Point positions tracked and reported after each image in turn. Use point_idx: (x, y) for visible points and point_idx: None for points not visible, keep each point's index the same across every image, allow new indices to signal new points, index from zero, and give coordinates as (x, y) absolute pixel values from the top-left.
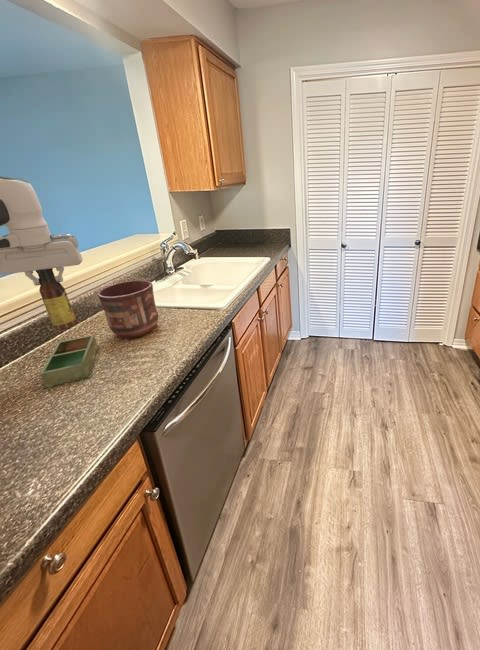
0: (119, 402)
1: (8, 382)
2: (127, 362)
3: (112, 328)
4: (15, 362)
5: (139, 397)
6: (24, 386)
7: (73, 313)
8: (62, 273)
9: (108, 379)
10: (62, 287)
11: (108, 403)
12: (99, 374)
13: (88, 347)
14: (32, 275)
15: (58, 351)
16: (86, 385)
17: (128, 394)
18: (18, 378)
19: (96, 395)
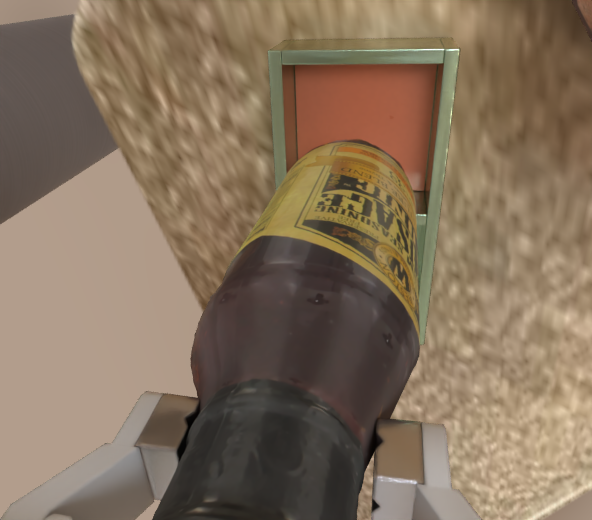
0: (511, 459)
1: (151, 199)
2: (571, 274)
3: (586, 24)
4: (86, 22)
5: (565, 467)
6: (220, 254)
7: (416, 227)
8: (474, 515)
9: (489, 349)
10: (408, 376)
11: (483, 449)
12: (460, 305)
13: (436, 210)
14: (88, 507)
15: (289, 133)
16: (420, 346)
17: (539, 443)
18: (173, 187)
19: (452, 405)
